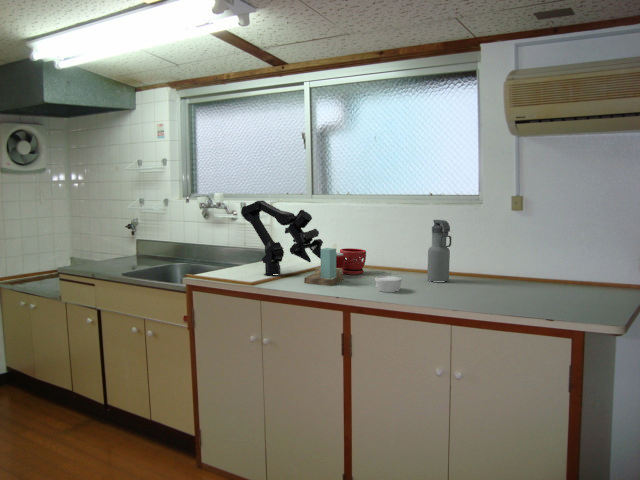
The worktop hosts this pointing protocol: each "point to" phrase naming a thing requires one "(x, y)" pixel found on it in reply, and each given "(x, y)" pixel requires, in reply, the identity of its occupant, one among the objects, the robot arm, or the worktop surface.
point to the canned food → (340, 261)
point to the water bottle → (439, 252)
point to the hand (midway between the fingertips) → (316, 260)
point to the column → (328, 263)
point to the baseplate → (322, 280)
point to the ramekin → (388, 283)
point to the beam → (338, 271)
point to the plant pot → (353, 260)
